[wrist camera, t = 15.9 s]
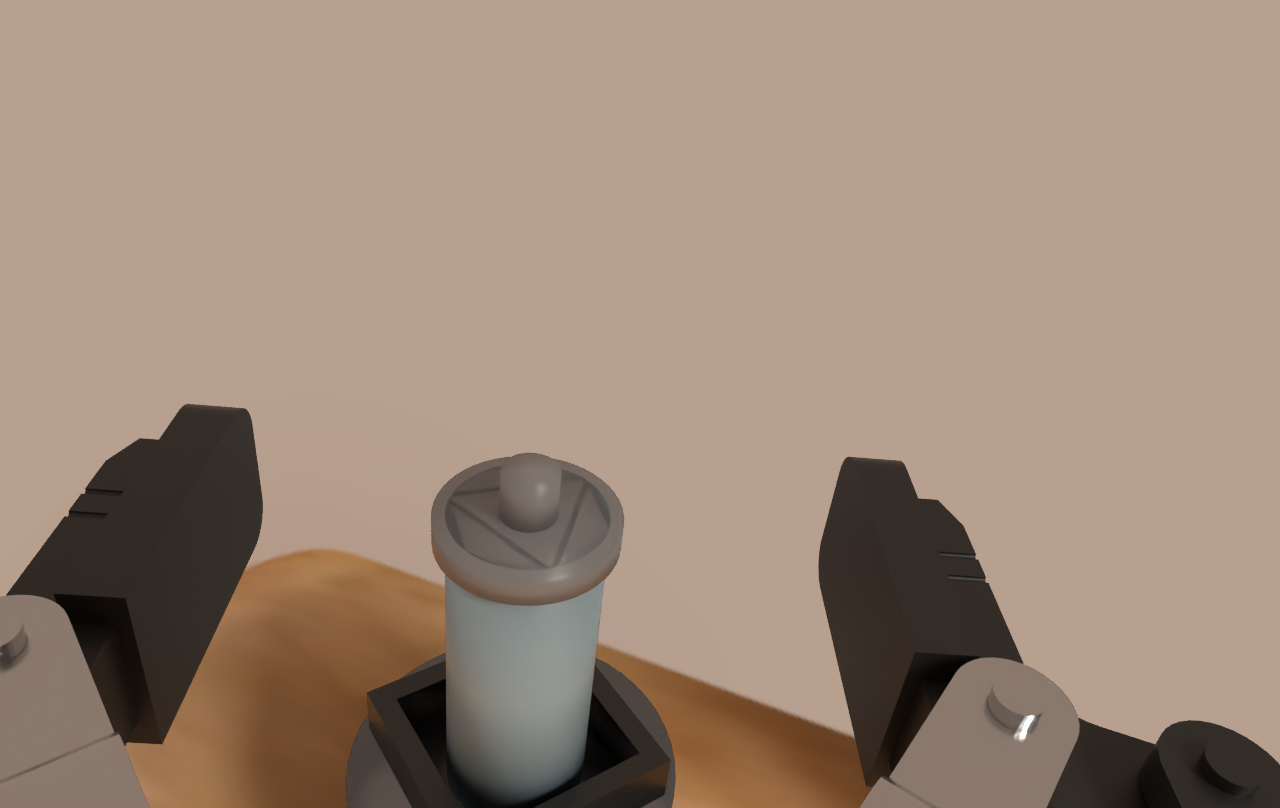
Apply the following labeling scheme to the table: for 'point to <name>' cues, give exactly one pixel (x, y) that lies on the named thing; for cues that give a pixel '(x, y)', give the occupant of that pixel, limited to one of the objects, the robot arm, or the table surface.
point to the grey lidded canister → (521, 623)
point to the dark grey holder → (417, 760)
